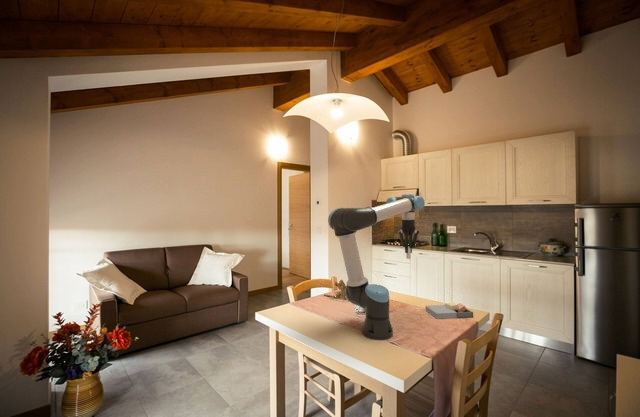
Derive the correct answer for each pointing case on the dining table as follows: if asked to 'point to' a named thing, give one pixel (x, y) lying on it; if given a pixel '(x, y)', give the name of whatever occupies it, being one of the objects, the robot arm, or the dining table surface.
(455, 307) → the tile
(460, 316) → the box
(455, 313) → the plate
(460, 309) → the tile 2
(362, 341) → the dining table surface
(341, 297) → the wooden toy
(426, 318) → the dining table surface
